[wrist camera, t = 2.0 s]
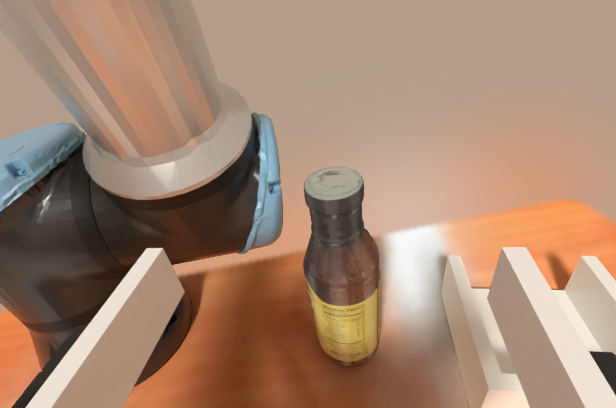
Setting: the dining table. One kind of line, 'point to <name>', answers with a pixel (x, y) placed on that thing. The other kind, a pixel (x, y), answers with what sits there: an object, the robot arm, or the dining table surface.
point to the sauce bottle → (342, 267)
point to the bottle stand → (488, 340)
